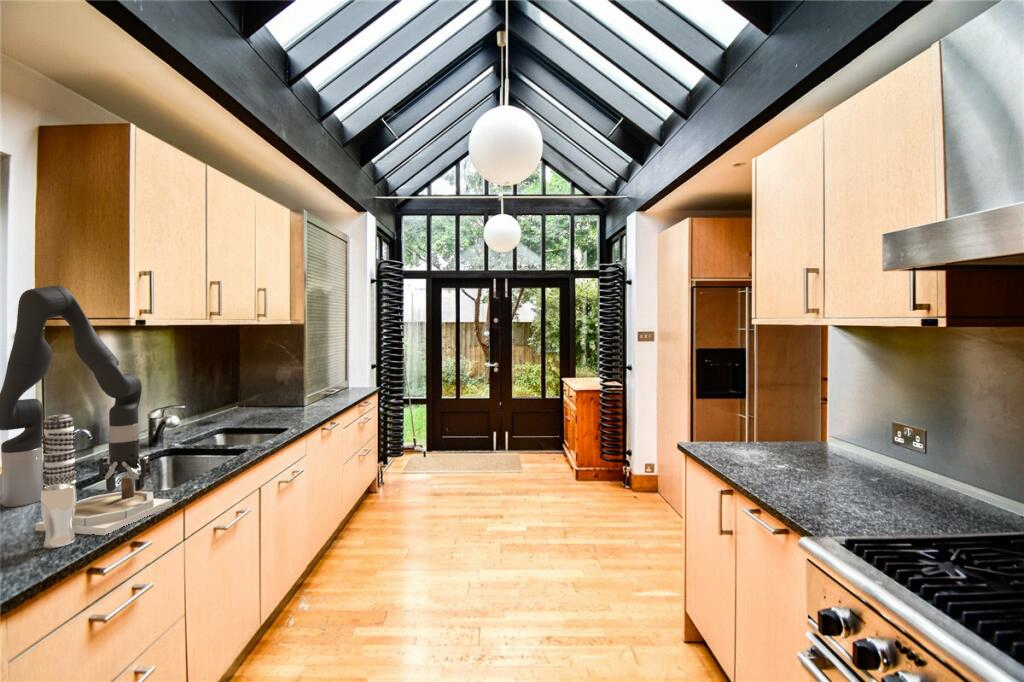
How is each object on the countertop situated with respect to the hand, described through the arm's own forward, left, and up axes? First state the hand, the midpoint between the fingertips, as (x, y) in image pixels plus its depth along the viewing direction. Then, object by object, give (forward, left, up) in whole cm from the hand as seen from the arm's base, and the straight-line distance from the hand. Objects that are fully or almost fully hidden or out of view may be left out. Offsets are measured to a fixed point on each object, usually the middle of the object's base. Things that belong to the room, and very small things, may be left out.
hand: (125, 490), depth 150 cm
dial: (+1, -6, -4) cm, 7 cm away
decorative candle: (-45, +18, -6) cm, 49 cm away
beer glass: (+5, -23, -6) cm, 25 cm away
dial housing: (+1, -6, -6) cm, 9 cm away
